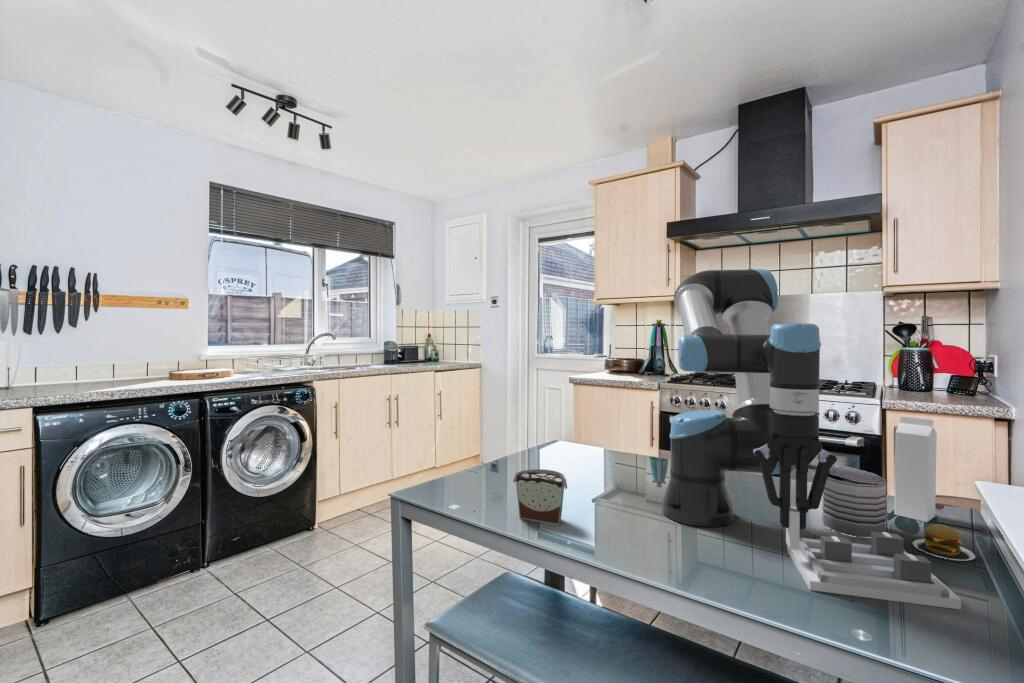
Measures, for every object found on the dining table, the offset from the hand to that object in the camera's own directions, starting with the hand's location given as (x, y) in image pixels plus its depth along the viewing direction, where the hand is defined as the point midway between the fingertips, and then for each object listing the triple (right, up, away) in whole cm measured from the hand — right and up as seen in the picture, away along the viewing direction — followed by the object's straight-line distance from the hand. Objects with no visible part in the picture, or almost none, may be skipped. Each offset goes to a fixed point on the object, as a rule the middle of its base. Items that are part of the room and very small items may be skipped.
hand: (792, 545), depth 87 cm
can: (+23, -4, +18) cm, 29 cm away
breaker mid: (+6, -2, -2) cm, 7 cm away
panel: (+10, -4, -3) cm, 12 cm away
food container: (-42, -4, +25) cm, 49 cm away
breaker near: (+14, -2, -9) cm, 17 cm away
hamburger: (+32, -5, +7) cm, 33 cm away
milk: (+42, -4, +25) cm, 49 cm away
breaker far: (+16, -2, 0) cm, 17 cm away
